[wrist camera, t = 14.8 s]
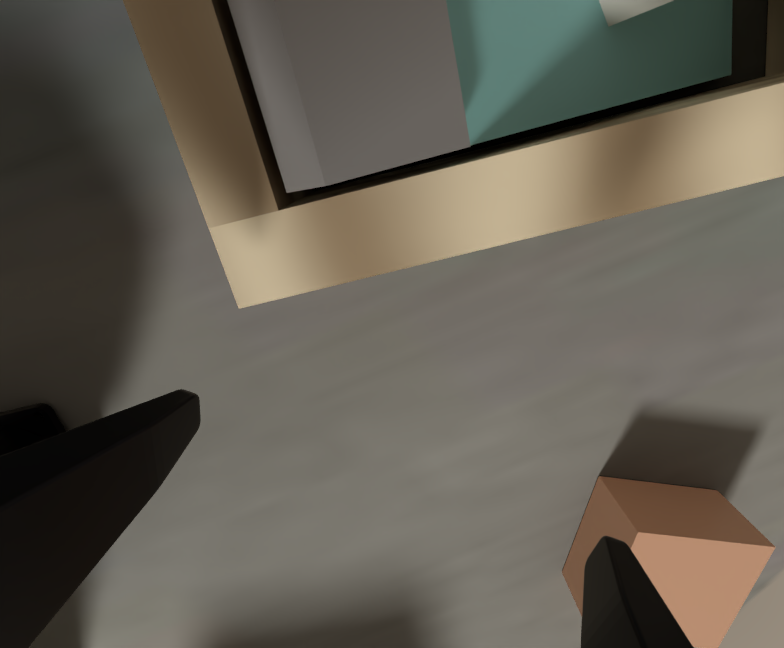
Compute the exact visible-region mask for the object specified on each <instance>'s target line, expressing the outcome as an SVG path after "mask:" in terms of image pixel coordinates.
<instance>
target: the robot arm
mask: <svg viewBox="0 0 784 648" xmlns="http://www.w3.org/2000/svg"><path fill="white" fill-rule="evenodd" d="M39 413H41V414H42V415H43V416H44V417H43V416H41V415H40V414H39ZM199 426H200V402H199V397H198V395H197V394H195V393H192V392H189V391H186V390H183V389H180V390H176V391H174V392H171V393H168V394H166V395H163V396H160V397H157V398H155V399H152V400H149V401H147V402H144V403H141V404H139V405H136V406H133V407H131V408H128V409H125V410H123V411H120V412H117V413H115V414H112V415H109V416H107V417H104V418H101V419H99V420H96V421H93V422H90V423H88V424H85V425H82V426H80V427H77V428H74V429H72V430H69V431H65V429H64V428H63V426H62V424H61V422H60V420H59V419H58V417H57V415H56V413H55V412H54V410H53V409H52V408H51V407H50V406H49V405H47V404H36V405H32V406H27V407H23V408H19V409H15V410H11V411H6V412H2V413H0V648H28V647H29V646H30V645H31V643H32V642H33V641H34V640H35V639H36V637H37V636H38V635H39V634H40V632H41V631H42V630H43V629H44V628H45V626H46V625H47V624H48V623H49V622H50V620H51V619H52V618H53V617H54V615H55V614H56V613H57V612H58V611H59V609H60V608H61V607H62V606H63V604H64V603H65V602H66V601H67V600H68V598H69V597H70V596H71V595H72V594H73V592H74V591H75V590H76V589H77V587H78V586H79V585H80V584H81V583H82V581H83V580H84V579H85V578H86V577H87V575H88V574H89V573H90V572H91V570H92V569H93V568H94V567H95V566H96V564H97V563H98V562H99V561H100V559H101V558H102V557H103V556H104V555H105V553H106V552H107V551H108V550H109V549H110V547H111V546H112V545H113V544H114V542H115V541H116V540H117V539H118V538H119V536H120V535H121V534H122V533H123V531H124V530H125V529H126V528H127V527H128V525H129V524H130V523H131V522H132V521H133V519H134V518H135V517H136V516H137V514H138V513H139V512H140V511H141V510H142V508H143V507H144V506H145V505H146V503H147V502H148V501H149V500H150V499H151V497H152V496H153V495H154V494H155V492H156V491H157V490H158V488H159V487H160V486H161V484H162V483H163V481H164V480H165V479H166V477H167V476H168V474H169V473H170V471H171V470H172V468H173V467H174V465H175V464H176V462H177V461H178V459H179V458H180V456H181V455H182V453H183V452H184V450H185V449H186V447H187V446H188V444H189V443H190V441H191V440H192V438H193V437H194V435H195V434H196V432H197V430H198V428H199ZM581 648H694V647H693V646H692V644H691V643H690V641H689V640H688V638H687V636H686V635H685V633H684V632H683V630H682V629H681V627H680V625H679V624H678V622H677V621H676V619H675V618H674V616H673V615H672V613H671V611H670V610H669V608H668V607H667V605H666V604H665V602H664V600H663V599H662V597H661V596H660V594H659V593H658V591H657V589H656V588H655V586H654V585H653V583H652V582H651V580H650V578H649V577H648V575H647V574H646V572H645V571H644V569H643V568H642V566H641V564H640V563H639V561H638V560H637V558H636V557H635V555H634V553H633V552H632V550H631V549H630V547H629V546H628V545H627V544H626V543H625V542H624V541H621V540H618V539H615V538H613V537H610V536H603V537H602V538H601V539H600V540H599V542H598V543H597V545H596V546H595V548H594V549H593V551H592V552H591V554H590V555H589V557H588V558H587V561H586V564H585V569H584V588H583V609H582V630H581Z"/></svg>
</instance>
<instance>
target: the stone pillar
mask: <svg viewBox="0 0 784 648" xmlns="http://www.w3.org/2000/svg"><path fill="white" fill-rule="evenodd" d="M671 1H674V0H599V2H600V5H601V8H602V11H603V13H604V16H605V19H606V21H607V24H608V27H609V26H612V25H614V24H617V23H619V22H622V21H624V20H627V19H629V18H631V17H634V16H636V15H639V14H641V13H644V12H646V11H649V10H651V9H654V8H656V7H659V6H661V5H664V4H666V3H669V2H671Z"/></svg>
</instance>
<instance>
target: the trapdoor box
mask: <svg viewBox="0 0 784 648" xmlns="http://www.w3.org/2000/svg"><path fill="white" fill-rule="evenodd" d="M123 2H124V4H125V7H126V10H127V12H128V15H129V18H130V20H131V23H132V26H133V28H134V31H135V34H136V36H137V39H138V42H139V44H140V47H141V50H142V52H143V55H144V58H145V60H146V63H147V66H148V68H149V71H150V74H151V76H152V79H153V81H154V84H155V87H156V89H157V92H158V95H159V97H160V100H161V103H162V105H163V108H164V111H165V113H166V116H167V119H168V121H169V124H170V127H171V129H172V132H173V135H174V137H175V140H176V143H177V145H178V148H179V151H180V153H181V156H182V159H183V161H184V164H185V167H186V169H187V172H188V175H189V177H190V180H191V183H192V185H193V188H194V191H195V193H196V196H197V199H198V201H199V204H200V207H201V209H202V212H203V214H204V217H205V220H206V222H207V225H208V228H209V230H210V233H211V236H212V238H213V241H214V244H215V246H216V249H217V252H218V254H219V257H220V260H221V262H222V265H223V268H224V270H225V273H226V276H227V278H228V281H229V284H230V286H231V289H232V292H233V294H234V297H235V300H236V302H237V305H238V308H239V309H240V308H244V307H248V306H252V305H257V304H261V303H265V302H269V301H273V300H277V299H281V298H285V297H289V296H293V295H298V294H302V293H306V292H310V291H314V290H318V289H322V288H326V287H330V286H334V285H339V284H343V283H347V282H351V281H355V280H359V279H363V278H367V277H371V276H376V275H380V274H384V273H388V272H392V271H396V270H400V269H404V268H408V267H412V266H417V265H421V264H425V263H429V262H433V261H437V260H441V259H445V258H449V257H453V256H458V255H462V254H466V253H470V252H474V251H478V250H482V249H486V248H490V247H494V246H499V245H503V244H507V243H511V242H515V241H519V240H523V239H527V238H531V237H535V236H540V235H544V234H548V233H552V232H556V231H560V230H564V229H568V228H572V227H577V226H581V225H585V224H589V223H593V222H597V221H601V220H605V219H609V218H613V217H618V216H622V215H626V214H630V213H634V212H638V211H642V210H646V209H650V208H654V207H659V206H663V205H667V204H671V203H675V202H679V201H683V200H687V199H691V198H695V197H700V196H704V195H708V194H712V193H716V192H720V191H724V190H728V189H732V188H737V187H741V186H745V185H749V184H753V183H757V182H761V181H765V180H769V179H773V178H778V177H782V176H784V0H768V19H767V45H766V71H765V77H761V78H757V79H753V80H749V81H745V82H742V83H738V84H734V85H730V86H726V87H722V88H718V89H714V90H710V91H706V92H702V93H698V94H694V95H690V96H687V97H683V98H679V99H675V100H671V101H667V102H663V103H659V104H655V105H651V106H647V107H643V108H639V109H635V110H632V111H628V112H624V113H620V114H616V115H612V116H608V117H604V118H600V119H596V120H592V121H588V122H584V123H580V124H577V125H573V126H569V127H565V128H561V129H557V130H553V131H549V132H545V133H541V134H537V135H533V136H529V137H525V138H522V139H518V140H514V141H510V142H506V143H502V144H498V145H494V146H490V147H486V148H482V149H478V150H474V151H470V152H467V153H463V154H459V155H455V156H451V157H447V158H443V159H439V160H435V161H431V162H427V163H423V164H419V165H415V166H412V167H408V168H404V169H400V170H396V171H392V172H388V173H384V174H380V175H376V176H372V177H368V178H364V179H360V180H357V181H353V182H349V183H345V184H341V185H337V186H333V187H329V188H325V189H321V190H317V191H313V190H312V189H306V190H301V191H295V192H289V193H287V192H286V189H285V186H284V182H283V179H282V176H281V173H280V170H279V166H278V163H277V160H276V157H275V153H274V150H273V147H272V144H271V140H270V137H269V134H268V131H267V127H266V124H265V121H264V118H263V115H262V111H261V108H260V105H259V102H258V98H257V95H256V92H255V89H254V85H253V82H252V79H251V76H250V72H249V69H248V66H247V63H246V60H245V56H244V53H243V50H242V47H241V43H240V40H239V37H238V34H237V30H236V27H235V24H234V21H233V17H232V14H231V11H230V8H229V5H228V1H227V0H123Z"/></svg>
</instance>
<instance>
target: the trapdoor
mask: <svg viewBox="0 0 784 648" xmlns="http://www.w3.org/2000/svg"><path fill="white" fill-rule="evenodd" d="M227 1H228V5H229V8H230V11H231V14H232V17H233V21H234V24H235V27H236V30H237V34H238V37H239V40H240V43H241V47H242V50H243V53H244V56H245V60H246V63H247V66H248V69H249V72H250V76H251V79H252V82H253V85H254V89H255V92H256V95H257V98H258V102H259V105H260V108H261V111H262V115H263V118H264V121H265V124H266V127H267V131H268V134H269V137H270V140H271V144H272V147H273V150H274V153H275V157H276V160H277V163H278V166H279V170H280V173H281V176H282V179H283V182H284V186H285V189H286V192H287V193H289V192H295V191H301V190H306V189H312V188H318V187H323V186H328V185H332V184H335V183H339V182H343V181H346V180H350V179H354V178H357V177H361V176H365V175H368V174H372V173H376V172H379V171H383V170H387V169H390V168H394V167H398V166H401V165H405V164H409V163H412V162H416V161H420V160H423V159H427V158H431V157H434V156H438V155H442V154H445V153H449V152H453V151H456V150H460V149H464V148H467V147H471V146H470V145H474V144H477V143H481V142H485V141H488V140H492V139H496V138H499V137H503V136H507V135H511V134H514V133H518V132H522V131H525V130H529V129H533V128H536V127H540V126H544V125H547V124H551V123H555V122H558V121H562V120H566V119H570V118H573V117H577V116H581V115H584V114H588V113H592V112H595V111H599V110H603V109H606V108H610V107H614V106H618V105H621V104H625V103H629V102H632V101H636V100H640V99H643V98H647V97H651V96H654V95H658V94H662V93H666V92H669V91H673V90H677V89H680V88H684V87H688V86H691V85H695V84H699V83H702V82H706V81H710V80H713V79H717V78H721V77H725V76H728V75H731V63H732V0H674V1H671V2H669V3H666V4H664V5H661V6H659V7H656V8H654V9H651V10H649V11H646V12H644V13H641V14H639V15H636V16H634V17H631V18H629V19H627V20H624V21H622V22H619V23H617V24H614V25H612V26H609V27H608V24H607V21H606V19H605V16H604V13H603V11H602V8H601V5H600V2H599V0H227Z"/></svg>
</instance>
